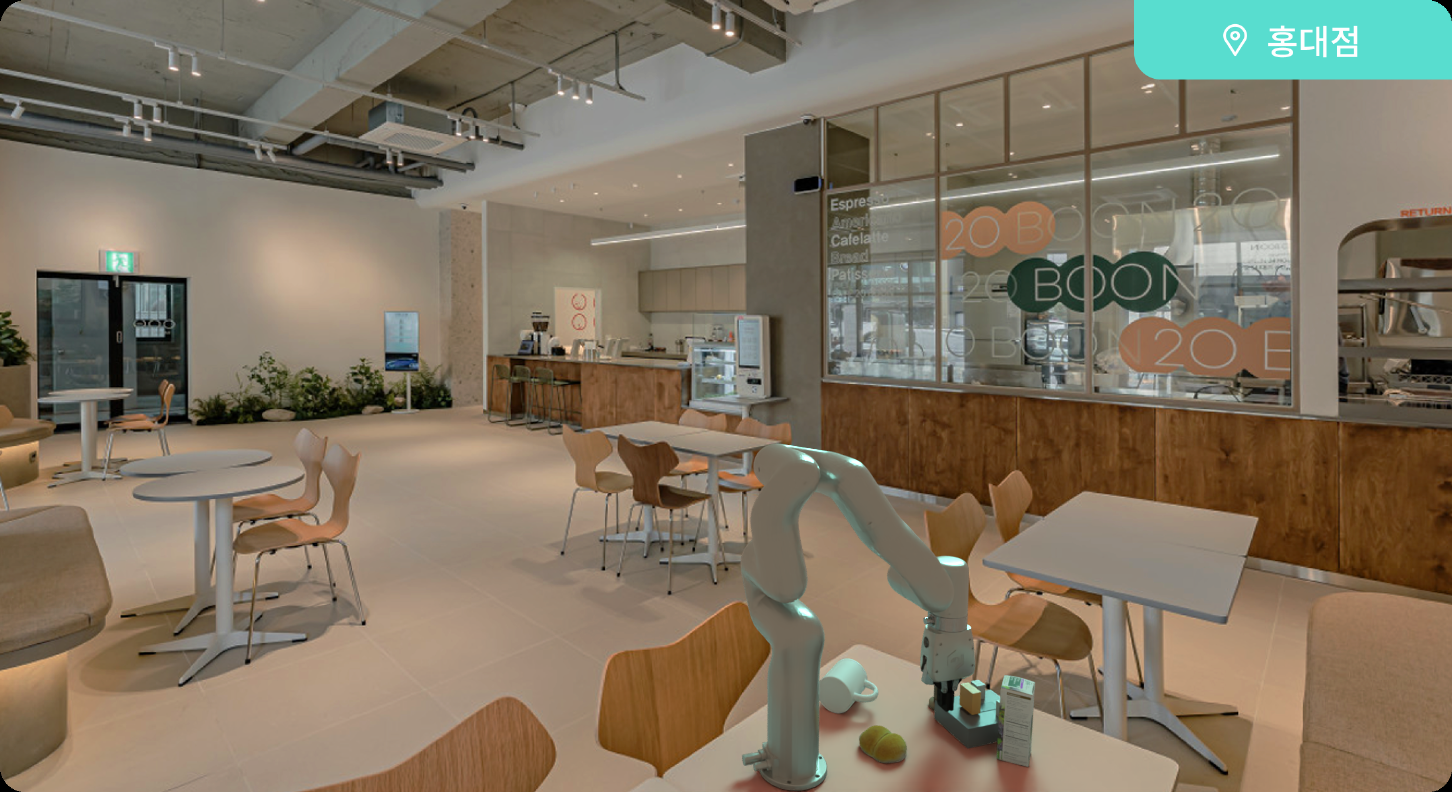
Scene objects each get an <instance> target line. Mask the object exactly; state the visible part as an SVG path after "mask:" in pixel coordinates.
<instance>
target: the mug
mask: <svg viewBox="0 0 1452 792" xmlns="http://www.w3.org/2000/svg"><path fill="white" fill-rule="evenodd" d="M865 689H869V690H872V691H873V693H870V694H863V692H864V691H865ZM878 696H879V689H878V687H877V685H876V684H875V683H873V682H872V681H869V680H868V675H867V671H866V670H865V668H864V666H863V665H862V664H861V663H859V662H858V661H857V660H855V659H852V658H842V659H840V660H838V661H837V662H836V663H835V664H834V665H833V666H832V667H831V669H829V670H828V672H826V674H824V676H823V677H822V678H821V679H819V703H820V704H821V705H822V706H823V707H824V708H825V709H826V710H827V711H829V712H831V713H834V714H844V713H846V712H847V711H848V710H850V708H851V706H852V705H854V703H855V702H859V703H872V702H874V701H876V700H877V698H878Z"/></svg>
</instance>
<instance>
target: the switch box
mask: <svg viewBox="0 0 1452 792" xmlns="http://www.w3.org/2000/svg"><path fill="white" fill-rule="evenodd" d="M970 684H971V685H972V686H974V687H975V688H976V689H978V690H979V691H980V692H981V709H980V713H979V714H974V715H971V714H970V713H969V712H968V711H967V710H965V709H964V708H963V707H962V706H960V695H956V696H955V695H954V710H953V711H950V710H949V711H948V712H945V711H944V710H943V709H942V708H941V707H940V706H938V704H937V700H935V711H934V714H933V715H934V717H933V719H934V720H935V721H937V723H939V724H940V725H941V726H942V727H943V728H945V730H947V732H949V733H950V734H951V735H952V736H953V737H954V738H956V740H958V741H959V742H960V743H961V744H962V745H963V746H964V747H965V748H966V749H971V748H976V747H982V746H986V745H990V744H996V743H997V742H998V724H999V707H1000V695H999V694H997V692H994V691H993V690H992V689H986V686H987V685H986V684H985V683H984V682H982V681H981V680H979V679H976V680H971V681H970Z"/></svg>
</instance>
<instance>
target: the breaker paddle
mask: <svg viewBox="0 0 1452 792" xmlns="http://www.w3.org/2000/svg"><path fill="white" fill-rule="evenodd" d="M959 696H960V706H962V707H963V708H964V709H965V710H967V711H968V712H969V713H970V714H971V715H974V714H979V713H980V709H981V692H980V691H979V690H978V689H976V688H975V687H974V686H972V685H971V682H963V683H959Z"/></svg>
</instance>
